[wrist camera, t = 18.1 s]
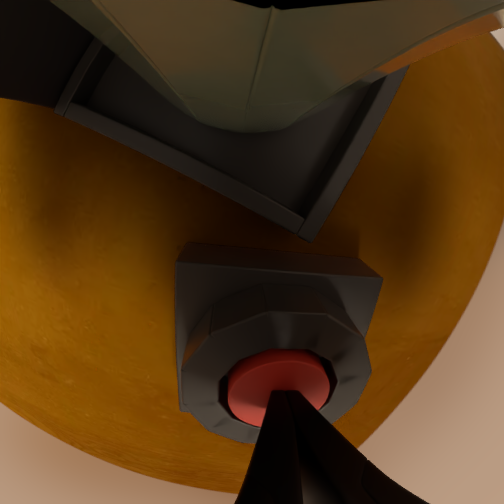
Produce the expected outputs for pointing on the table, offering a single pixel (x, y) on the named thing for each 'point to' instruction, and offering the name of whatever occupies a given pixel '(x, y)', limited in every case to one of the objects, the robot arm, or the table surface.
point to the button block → (268, 324)
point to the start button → (275, 381)
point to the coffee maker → (189, 120)
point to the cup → (274, 49)
